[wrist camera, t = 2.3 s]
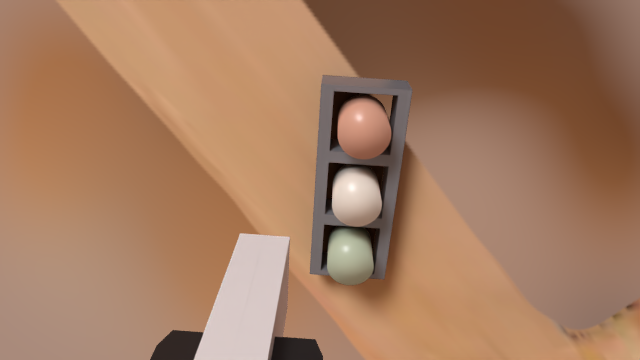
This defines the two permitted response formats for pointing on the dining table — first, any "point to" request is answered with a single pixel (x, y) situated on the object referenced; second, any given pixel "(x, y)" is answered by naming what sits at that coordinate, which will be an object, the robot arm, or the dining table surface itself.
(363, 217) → the cream rounded dome
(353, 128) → the terracotta button
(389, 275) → the dining table surface
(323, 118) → the button panel
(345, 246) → the sage button
